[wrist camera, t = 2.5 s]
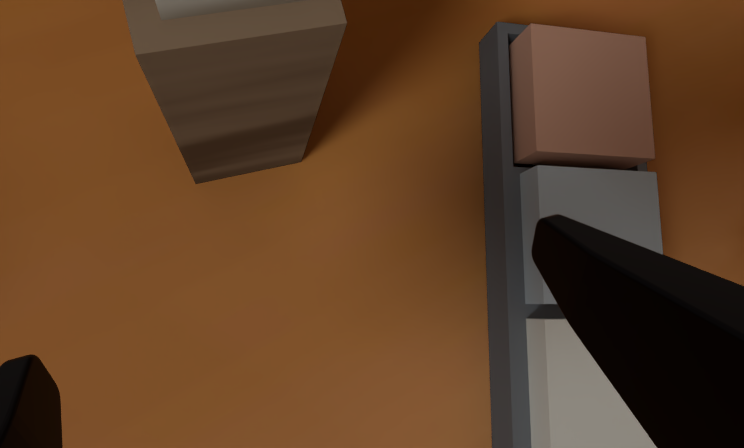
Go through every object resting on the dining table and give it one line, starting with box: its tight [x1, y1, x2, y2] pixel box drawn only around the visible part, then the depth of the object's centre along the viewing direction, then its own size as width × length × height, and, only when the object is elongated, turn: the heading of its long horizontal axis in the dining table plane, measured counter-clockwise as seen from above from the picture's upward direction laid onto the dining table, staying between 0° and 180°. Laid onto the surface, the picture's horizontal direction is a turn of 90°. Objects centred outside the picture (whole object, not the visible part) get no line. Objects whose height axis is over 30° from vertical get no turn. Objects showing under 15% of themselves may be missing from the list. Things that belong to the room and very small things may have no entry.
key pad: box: [479, 22, 663, 448], centre depth 24 cm, size 20×7×4 cm, turn 179°
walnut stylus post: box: [123, 0, 347, 184], centre depth 17 cm, size 4×4×13 cm
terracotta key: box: [509, 23, 655, 170], centre depth 24 cm, size 6×6×2 cm
